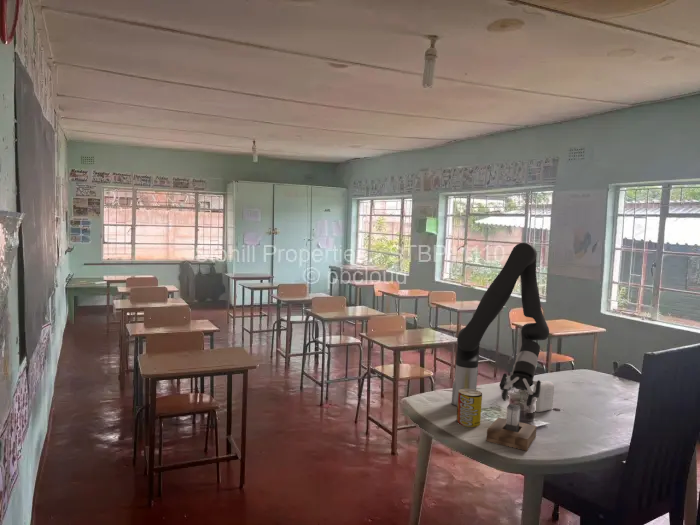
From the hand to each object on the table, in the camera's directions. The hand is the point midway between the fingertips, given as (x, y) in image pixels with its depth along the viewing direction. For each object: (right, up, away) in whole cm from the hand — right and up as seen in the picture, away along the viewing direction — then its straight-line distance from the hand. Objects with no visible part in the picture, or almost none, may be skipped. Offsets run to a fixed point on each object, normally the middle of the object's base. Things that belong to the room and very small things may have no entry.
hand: (515, 402), depth 193 cm
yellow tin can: (-15, -11, +11) cm, 22 cm away
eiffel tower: (+17, -10, +54) cm, 57 cm away
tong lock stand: (-3, -12, -3) cm, 13 cm away
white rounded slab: (+21, -12, +31) cm, 39 cm away
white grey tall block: (-3, -11, -3) cm, 12 cm away
